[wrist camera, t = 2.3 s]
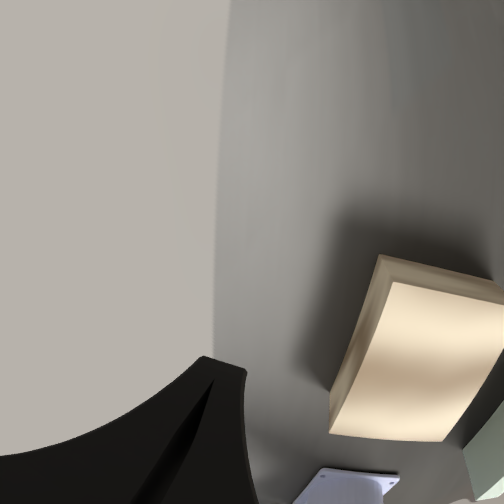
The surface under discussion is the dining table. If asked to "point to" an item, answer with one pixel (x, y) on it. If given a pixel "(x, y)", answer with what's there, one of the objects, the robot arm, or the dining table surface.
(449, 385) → the maple block
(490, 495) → the sage board
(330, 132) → the dining table surface
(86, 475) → the robot arm
